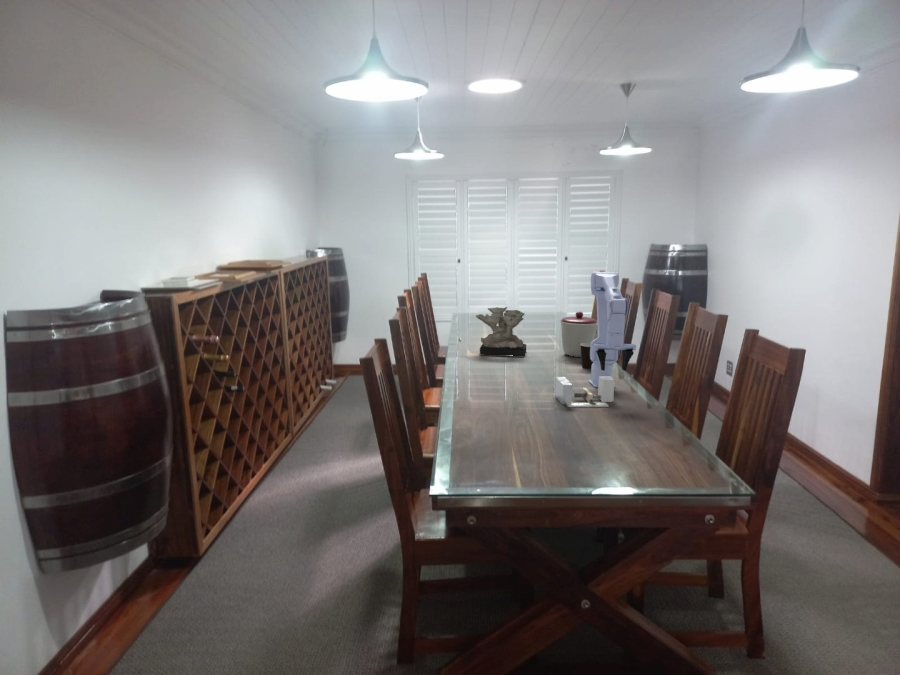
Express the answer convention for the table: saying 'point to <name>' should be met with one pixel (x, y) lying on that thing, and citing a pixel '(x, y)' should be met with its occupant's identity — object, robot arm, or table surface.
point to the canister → (577, 333)
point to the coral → (502, 333)
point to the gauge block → (605, 389)
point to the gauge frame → (565, 394)
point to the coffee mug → (586, 355)
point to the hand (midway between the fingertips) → (613, 369)
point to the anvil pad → (585, 395)
